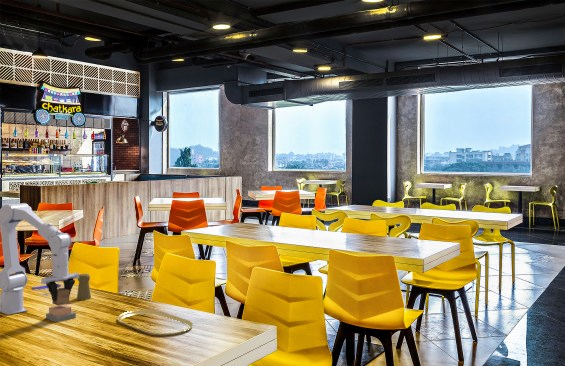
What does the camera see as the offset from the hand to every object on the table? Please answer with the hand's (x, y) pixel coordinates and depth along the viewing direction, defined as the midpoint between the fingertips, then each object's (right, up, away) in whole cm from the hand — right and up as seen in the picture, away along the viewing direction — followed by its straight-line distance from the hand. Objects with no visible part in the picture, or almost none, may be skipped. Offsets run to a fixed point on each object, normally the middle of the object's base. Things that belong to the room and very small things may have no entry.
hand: (60, 299), depth 210 cm
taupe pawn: (-2, -6, +31) cm, 31 cm away
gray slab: (0, -8, 0) cm, 8 cm away
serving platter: (+38, -9, -6) cm, 40 cm away
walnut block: (0, -2, 0) cm, 2 cm away
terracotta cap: (0, -6, 0) cm, 6 cm away
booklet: (-21, -6, +44) cm, 49 cm away
